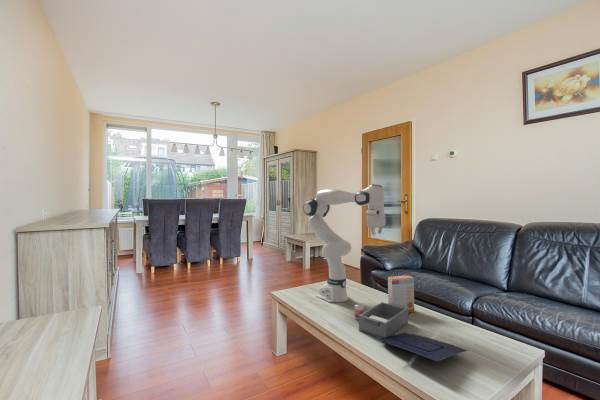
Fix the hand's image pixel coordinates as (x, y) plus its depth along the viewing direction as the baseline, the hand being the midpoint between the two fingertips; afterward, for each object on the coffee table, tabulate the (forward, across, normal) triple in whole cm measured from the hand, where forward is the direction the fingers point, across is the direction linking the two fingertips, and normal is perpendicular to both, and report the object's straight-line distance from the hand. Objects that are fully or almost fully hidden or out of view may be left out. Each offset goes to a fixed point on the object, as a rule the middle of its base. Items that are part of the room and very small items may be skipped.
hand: (376, 234), depth 171 cm
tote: (+46, +18, +11) cm, 51 cm away
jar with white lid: (+47, +16, -4) cm, 50 cm away
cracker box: (+47, -8, +11) cm, 49 cm away
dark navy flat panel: (+47, +32, +33) cm, 65 cm away
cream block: (+46, +25, +10) cm, 53 cm away
